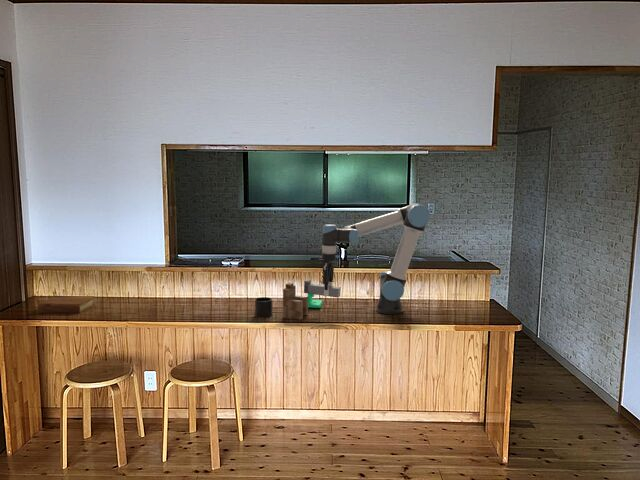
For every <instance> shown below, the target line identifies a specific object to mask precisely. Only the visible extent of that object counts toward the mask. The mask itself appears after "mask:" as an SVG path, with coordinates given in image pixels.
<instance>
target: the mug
mask: <svg viewBox="0 0 640 480" xmlns="http://www.w3.org/2000/svg"><path fill="white" fill-rule="evenodd" d="M254 310H255V311H254V313H255V314H254V315H255V317H258V318H269V317H272V316H273V299H272V298H271V297H257V298H255V299H254Z"/></svg>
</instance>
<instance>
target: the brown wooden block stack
mask: <svg viewBox="0 0 640 480" xmlns="http://www.w3.org/2000/svg"><path fill="white" fill-rule="evenodd" d="M296 287H297V286H296V285H294V283H293V282H288V283H286V284H285V288H283V289H282V292H283V293H282V302H283V303H282V307H283V308H282V309H283V310H282V312H283V313H282V316H283V319H289V320H290V319H292V320H301V321H302V320H303V319H304V316H308V315H309V307H308V297H307V296H303V295H302V296H300V295H296V291H297V288H296Z"/></svg>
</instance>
